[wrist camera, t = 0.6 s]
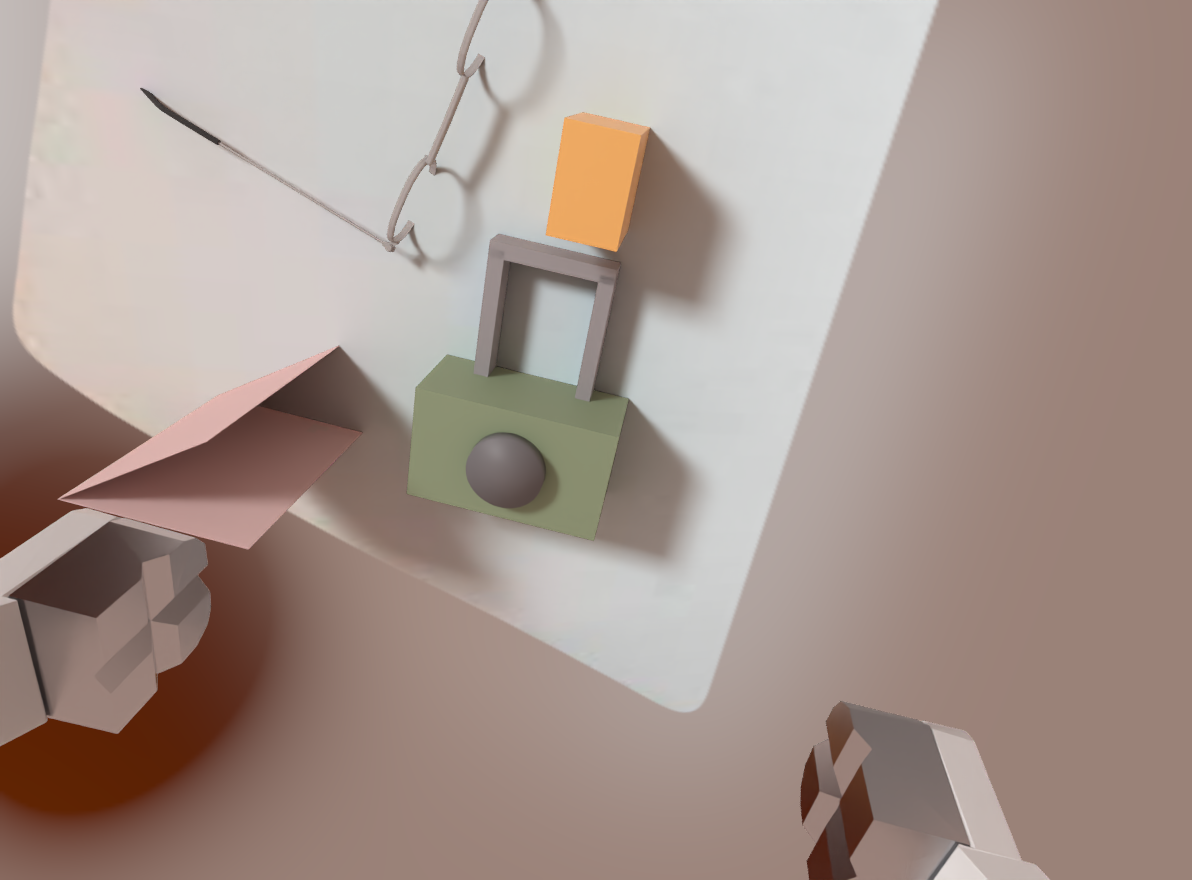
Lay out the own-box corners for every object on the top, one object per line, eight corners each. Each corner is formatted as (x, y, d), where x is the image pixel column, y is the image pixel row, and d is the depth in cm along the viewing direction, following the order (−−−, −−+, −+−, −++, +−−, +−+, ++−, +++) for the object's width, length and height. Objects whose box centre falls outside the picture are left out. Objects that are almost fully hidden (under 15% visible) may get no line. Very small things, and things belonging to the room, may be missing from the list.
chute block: (583, 112, 42) (564, 117, 36) (650, 127, 42) (641, 135, 36) (565, 215, 45) (545, 235, 39) (628, 230, 44) (616, 251, 39)
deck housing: (460, 224, 46) (421, 248, 40) (659, 271, 45) (651, 302, 39) (436, 452, 54) (401, 501, 48) (605, 494, 53) (591, 549, 47)
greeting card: (218, 405, 55) (60, 511, 41) (213, 314, 51) (39, 397, 38) (362, 442, 54) (248, 561, 41) (367, 352, 51) (245, 450, 38)
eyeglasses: (410, 250, 47) (384, 263, 44) (150, 92, 46) (102, 92, 42) (532, -35, 39) (512, -47, 36) (221, -240, 38) (168, -274, 34)
